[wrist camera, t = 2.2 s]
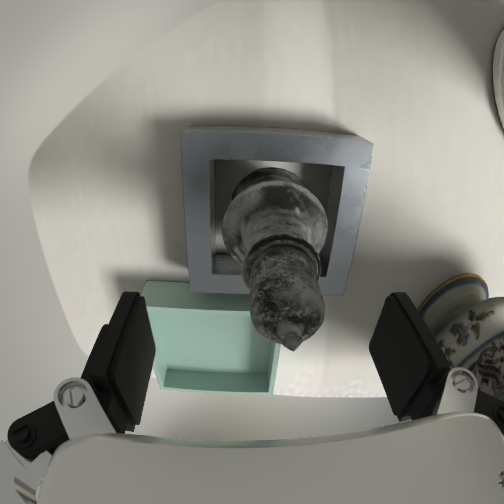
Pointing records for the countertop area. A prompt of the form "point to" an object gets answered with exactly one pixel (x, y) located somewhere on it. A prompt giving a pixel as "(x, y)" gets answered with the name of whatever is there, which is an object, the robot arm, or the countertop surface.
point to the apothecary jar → (469, 329)
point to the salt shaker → (278, 253)
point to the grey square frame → (271, 149)
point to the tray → (208, 341)
